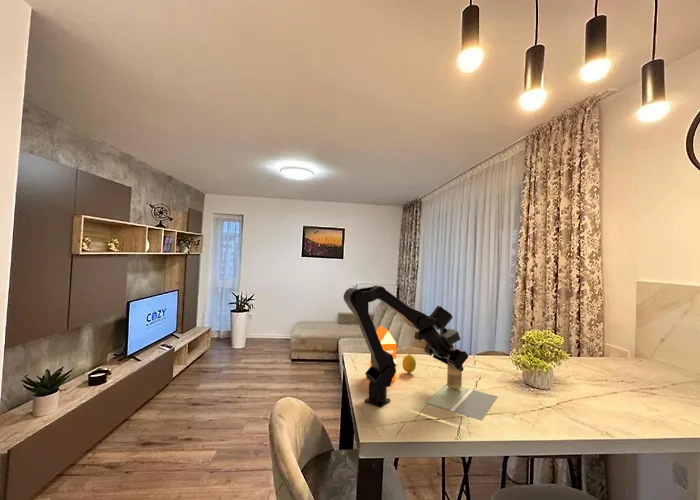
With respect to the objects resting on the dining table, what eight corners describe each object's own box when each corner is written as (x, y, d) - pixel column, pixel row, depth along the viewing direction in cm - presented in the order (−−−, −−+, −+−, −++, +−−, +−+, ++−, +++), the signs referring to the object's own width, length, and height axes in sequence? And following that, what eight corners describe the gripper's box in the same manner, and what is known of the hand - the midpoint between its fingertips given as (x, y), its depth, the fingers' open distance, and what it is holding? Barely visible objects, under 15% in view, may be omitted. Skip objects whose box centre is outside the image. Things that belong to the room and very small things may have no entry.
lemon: (415, 376, 130) (416, 356, 131) (402, 375, 132) (402, 355, 132) (415, 372, 136) (416, 353, 136) (402, 370, 137) (403, 351, 137)
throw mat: (481, 422, 94) (481, 420, 94) (424, 404, 104) (424, 402, 104) (497, 398, 111) (497, 396, 111) (447, 385, 122) (447, 383, 122)
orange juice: (377, 382, 122) (379, 330, 123) (369, 374, 131) (370, 325, 131) (396, 381, 124) (397, 329, 125) (386, 373, 133) (388, 325, 134)
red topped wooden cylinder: (461, 389, 113) (462, 353, 114) (447, 387, 115) (447, 351, 115) (461, 384, 118) (462, 349, 119) (447, 382, 120) (447, 348, 120)
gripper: (464, 327, 107) (489, 358, 111) (431, 318, 125) (454, 345, 128) (444, 352, 104) (470, 383, 108) (413, 339, 122) (437, 366, 125)
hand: (457, 367), depth 117 cm, fingers closed on red topped wooden cylinder, 5 cm apart
